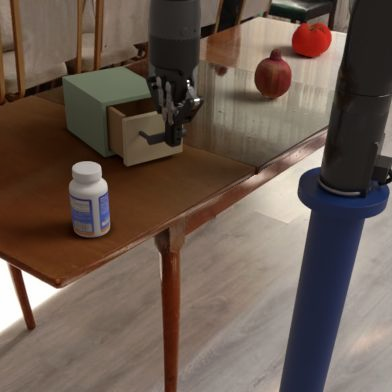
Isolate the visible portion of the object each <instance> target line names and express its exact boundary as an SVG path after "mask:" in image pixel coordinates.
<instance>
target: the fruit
mask: <svg viewBox="0 0 392 392" xmlns="http://www.w3.org/2000/svg"><path fill="white" fill-rule="evenodd" d="M292 78H293V75H292V69H291V66H290V64H289V62H287V60H286V61H285V59H283V53H282V51H281V50H280V49H279V48H278V49H277V48H273V49H272V50H271V52H270V53H269V57H266V58H263V59H261V60H260V62H258V64H257V66H256V67H255V71H254V75H253V83H254V85H255V88H256V90H257V91H258V92H259V93H260V94H261V95H262V96H264V97H266V98H268V99H277V98H280V97H282V96H283V95H285V94H286V93H287V92H288V91H289V89H290V87H291V86H292Z"/></svg>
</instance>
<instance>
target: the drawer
mask: <svg viewBox="0 0 392 392" xmlns="http://www.w3.org/2000/svg"><path fill="white" fill-rule="evenodd" d="M106 119H107V136H108V148H110V149H111V150H113V151H114V152H115V153H117V154H116V155H118V156H119V157H120V158H122V159H123V164H124V166H126V167H130V166H134V165H138V164H142V163H145V162H149V161H153V160H158V159H161V158H165V157H169V156H172V155H176V154H180V153H183V149H184V148H183V147H184V146H183V144H184V143H183V142H184V138H185V137H187V134H188V133H187V130H186V128H185V127H184V124H183V125H182V142H181V144H180V145H179V146H176V147H170V146H168V145H167V144H166V143H165V122H164V121H163V119H162V114H157V112H156V109H155V106H154V103H153V100H152V97H149V98H144V99H139V100H135V101H130V102H125V103H120V104H115V105H111V106H106Z"/></svg>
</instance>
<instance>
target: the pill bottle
mask: <svg viewBox="0 0 392 392" xmlns="http://www.w3.org/2000/svg"><path fill="white" fill-rule="evenodd" d="M102 176H103V171H102V166H101V165H100V164H99V163H98V162H94V161H91V160H89V161H85V160H84V161H79V162H76V163H74V164H73V165H72V167H71V177H72V180H71V181H70V182H69V185H68V193H69V203H70V212H71V220H72V228H73V231H74V233H75V234H76V235H78V236H80V237H83V238H90V239H91V238H98V237H99V238H100V237H102V236H104V235H106V234H107V233H108V232H109V231H110V229H111V218H110V217H111V215H110V203H109V188H108V183H107V181H106V179H104V178H103V177H102Z"/></svg>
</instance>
